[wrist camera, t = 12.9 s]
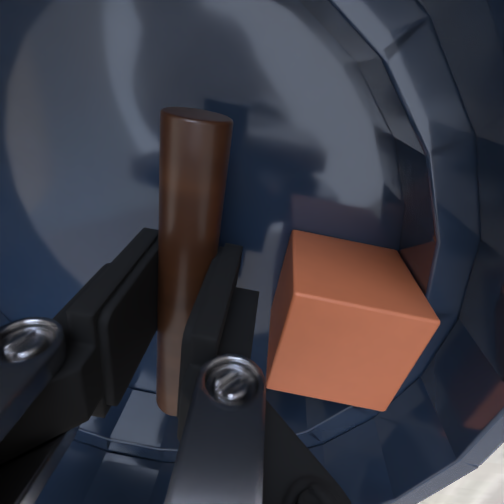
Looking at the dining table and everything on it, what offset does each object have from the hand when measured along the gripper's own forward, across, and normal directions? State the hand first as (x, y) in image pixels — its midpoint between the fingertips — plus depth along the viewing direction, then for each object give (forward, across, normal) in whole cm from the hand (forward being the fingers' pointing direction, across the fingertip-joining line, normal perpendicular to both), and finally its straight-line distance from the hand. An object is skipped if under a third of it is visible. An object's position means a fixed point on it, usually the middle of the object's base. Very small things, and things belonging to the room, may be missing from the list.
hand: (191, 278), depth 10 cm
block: (+1, -5, 0) cm, 5 cm away
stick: (0, 0, 0) cm, 0 cm away
